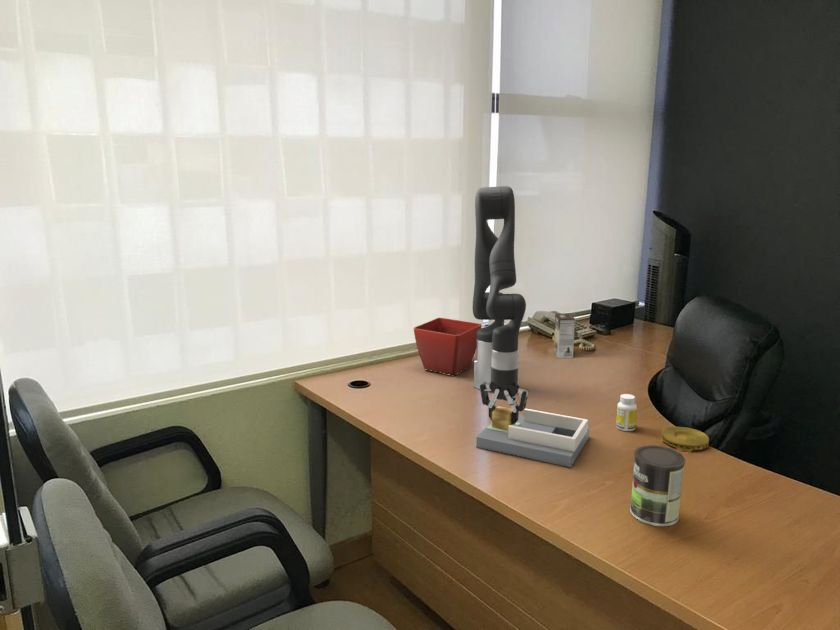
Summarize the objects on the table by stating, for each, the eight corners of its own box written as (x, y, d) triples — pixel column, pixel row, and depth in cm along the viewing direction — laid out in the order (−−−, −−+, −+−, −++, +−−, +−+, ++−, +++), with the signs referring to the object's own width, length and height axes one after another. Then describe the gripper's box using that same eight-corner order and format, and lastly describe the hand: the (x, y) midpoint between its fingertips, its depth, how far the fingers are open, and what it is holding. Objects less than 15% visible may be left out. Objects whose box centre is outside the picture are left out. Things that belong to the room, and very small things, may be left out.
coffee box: (553, 351, 256) (554, 313, 252) (568, 351, 256) (570, 313, 252) (557, 358, 247) (559, 318, 243) (573, 358, 247) (575, 318, 243)
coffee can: (641, 528, 134) (646, 468, 130) (622, 502, 144) (626, 446, 140) (688, 525, 135) (694, 465, 131) (666, 500, 145) (671, 443, 141)
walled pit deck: (476, 447, 172) (476, 425, 170) (502, 420, 189) (502, 400, 188) (570, 467, 160) (572, 443, 159) (589, 437, 177) (590, 415, 176)
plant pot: (482, 366, 239) (482, 323, 235) (457, 381, 223) (458, 335, 219) (439, 358, 249) (438, 317, 245) (412, 372, 233) (412, 328, 229)
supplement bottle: (635, 425, 185) (637, 394, 182) (635, 432, 180) (637, 400, 177) (616, 423, 187) (618, 392, 184) (615, 430, 182) (617, 398, 179)
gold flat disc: (652, 438, 177) (652, 431, 176) (684, 430, 182) (684, 423, 181) (684, 456, 166) (685, 448, 166) (718, 447, 171) (719, 440, 170)
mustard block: (491, 427, 177) (491, 412, 176) (497, 420, 181) (498, 405, 180) (508, 430, 175) (508, 415, 174) (514, 423, 179) (514, 408, 178)
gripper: (475, 364, 174) (474, 421, 178) (525, 372, 167) (523, 431, 171) (485, 357, 180) (484, 412, 184) (534, 364, 174) (532, 421, 178)
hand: (503, 421), depth 178 cm, fingers open, 5 cm apart
